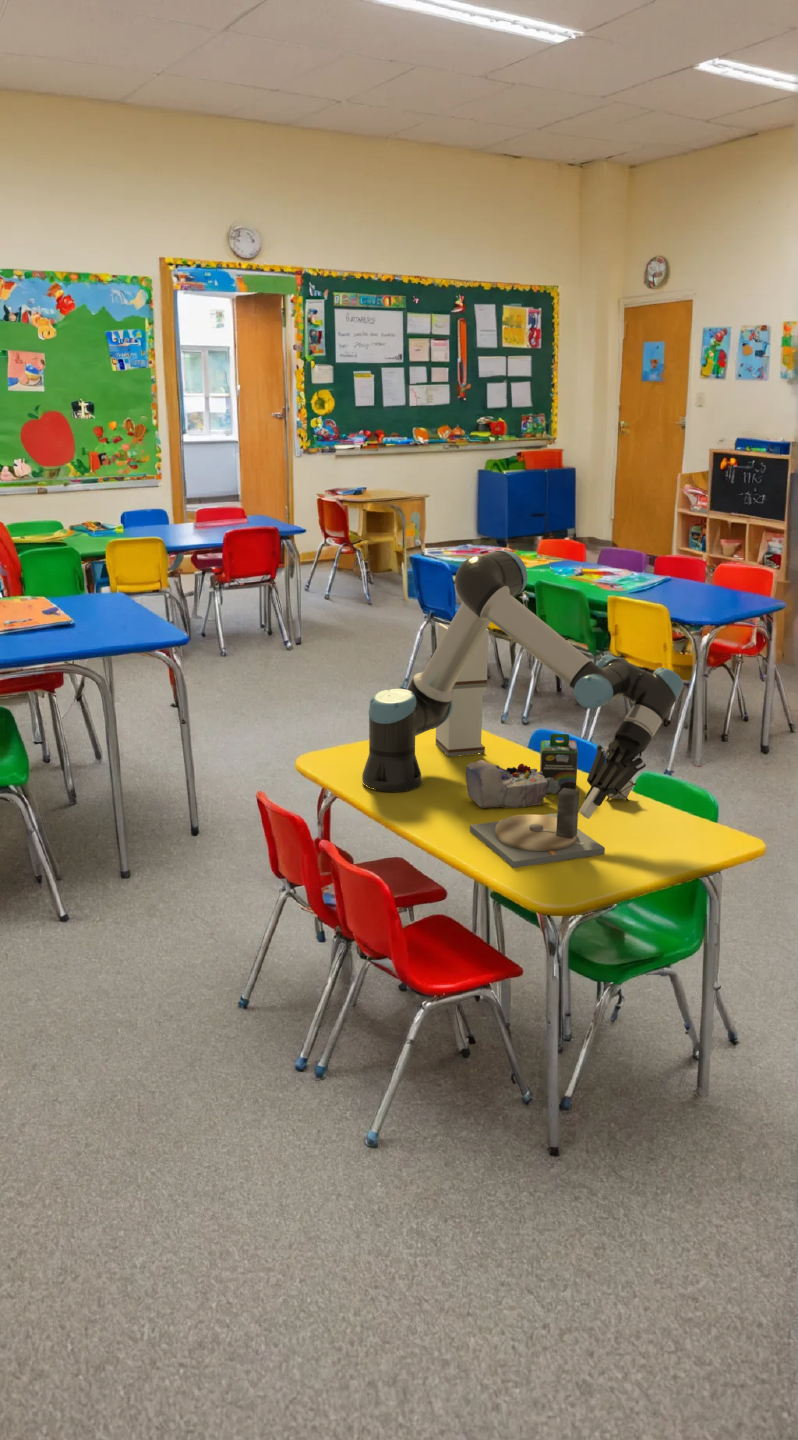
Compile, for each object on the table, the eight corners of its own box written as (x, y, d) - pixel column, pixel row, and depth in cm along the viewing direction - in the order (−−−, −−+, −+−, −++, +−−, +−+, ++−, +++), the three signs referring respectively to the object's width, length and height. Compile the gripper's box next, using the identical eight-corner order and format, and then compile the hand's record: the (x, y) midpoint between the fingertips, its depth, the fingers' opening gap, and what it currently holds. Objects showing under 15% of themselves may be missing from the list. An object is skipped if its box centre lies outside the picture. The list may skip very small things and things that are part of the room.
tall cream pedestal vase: (484, 753, 310) (488, 629, 300) (448, 756, 307) (451, 631, 298) (470, 742, 321) (474, 621, 311) (435, 744, 318) (437, 623, 308)
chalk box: (574, 783, 287) (577, 728, 283) (576, 795, 279) (579, 738, 275) (538, 781, 288) (541, 726, 284) (539, 793, 280) (541, 737, 275)
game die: (620, 816, 275) (626, 794, 267) (590, 798, 279) (595, 776, 271) (638, 791, 280) (645, 769, 272) (609, 774, 283) (615, 751, 275)
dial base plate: (469, 831, 255) (470, 824, 254) (555, 819, 263) (555, 812, 262) (513, 868, 235) (513, 860, 235) (604, 854, 243) (604, 846, 242)
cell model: (460, 756, 273) (532, 749, 280) (458, 798, 276) (529, 790, 283) (484, 772, 261) (559, 764, 269) (482, 815, 264) (556, 806, 272)
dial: (483, 842, 244) (484, 792, 241) (511, 815, 260) (513, 768, 257) (562, 857, 237) (565, 806, 234) (587, 828, 252) (589, 780, 249)
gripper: (667, 745, 250) (613, 832, 245) (622, 732, 260) (569, 815, 255) (654, 726, 246) (599, 814, 240) (608, 713, 255) (554, 798, 250)
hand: (584, 814), depth 247 cm, fingers closed
